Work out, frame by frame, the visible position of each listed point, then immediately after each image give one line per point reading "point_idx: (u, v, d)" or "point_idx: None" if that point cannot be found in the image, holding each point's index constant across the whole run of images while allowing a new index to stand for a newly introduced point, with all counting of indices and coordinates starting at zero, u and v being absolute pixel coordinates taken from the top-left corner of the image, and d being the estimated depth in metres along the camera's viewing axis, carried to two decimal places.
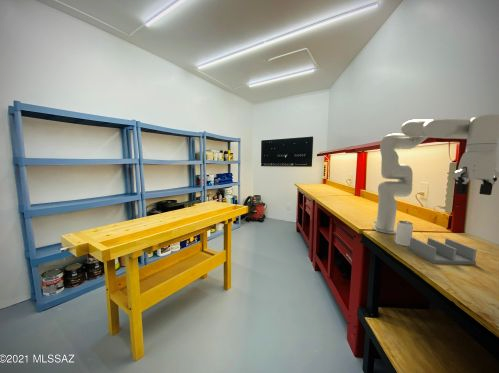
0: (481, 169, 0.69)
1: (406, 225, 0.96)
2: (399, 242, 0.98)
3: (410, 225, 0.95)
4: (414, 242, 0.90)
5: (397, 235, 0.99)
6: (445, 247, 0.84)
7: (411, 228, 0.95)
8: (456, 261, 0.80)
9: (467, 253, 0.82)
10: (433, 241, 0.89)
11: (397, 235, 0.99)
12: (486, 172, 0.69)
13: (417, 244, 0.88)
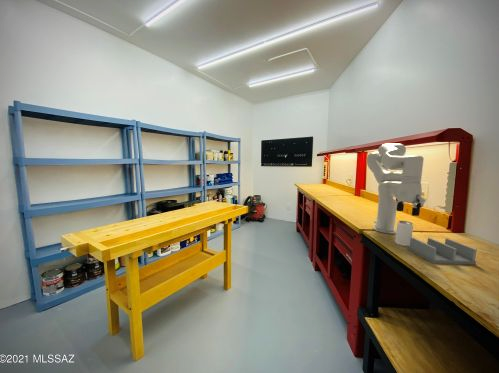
0: None
1: (406, 225, 0.96)
2: (399, 242, 0.98)
3: (410, 225, 0.95)
4: (414, 242, 0.90)
5: (397, 235, 0.99)
6: (445, 247, 0.84)
7: (411, 228, 0.95)
8: (456, 261, 0.80)
9: (467, 253, 0.82)
10: (433, 241, 0.89)
11: (397, 235, 0.99)
12: None
13: (417, 244, 0.88)
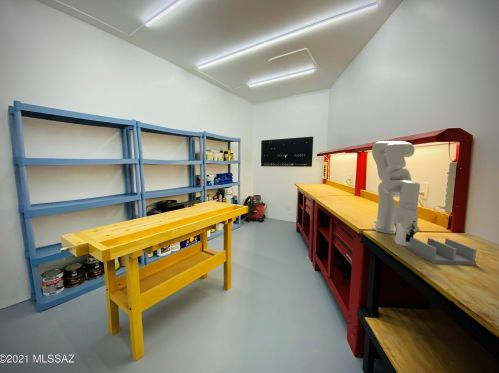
0: None
1: None
2: (399, 242, 0.98)
3: None
4: (414, 242, 0.90)
5: (397, 235, 0.99)
6: (445, 247, 0.84)
7: None
8: (456, 261, 0.80)
9: (467, 253, 0.82)
10: (433, 241, 0.89)
11: (397, 235, 0.99)
12: None
13: (417, 244, 0.88)
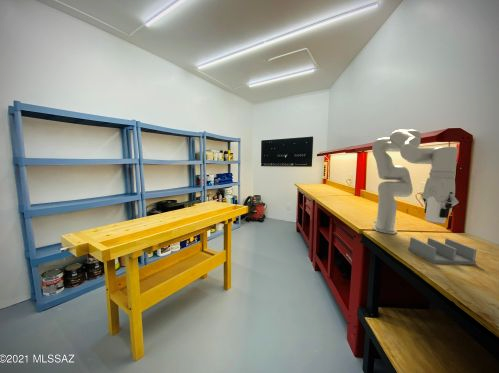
0: None
1: None
2: (432, 218, 0.83)
3: None
4: (414, 242, 0.90)
5: (428, 211, 0.85)
6: (445, 247, 0.84)
7: None
8: (456, 261, 0.80)
9: (467, 253, 0.82)
10: (433, 241, 0.89)
11: (428, 211, 0.85)
12: None
13: (417, 244, 0.88)
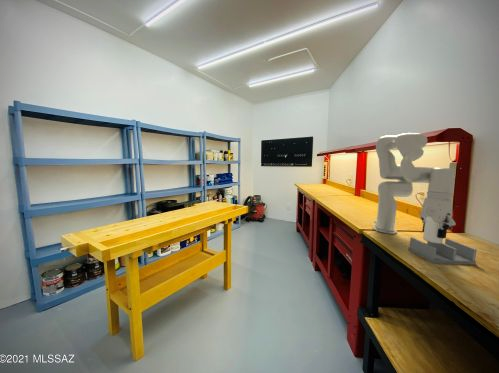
0: None
1: None
2: (429, 238, 0.84)
3: None
4: (414, 242, 0.90)
5: (426, 230, 0.85)
6: (445, 247, 0.84)
7: None
8: (456, 261, 0.80)
9: (467, 253, 0.82)
10: None
11: (426, 230, 0.85)
12: None
13: (417, 244, 0.88)
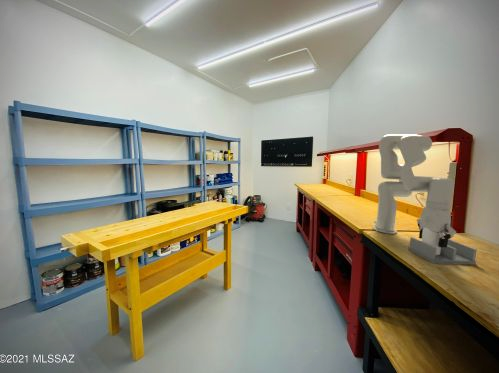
0: None
1: None
2: None
3: None
4: (414, 242, 0.90)
5: None
6: (445, 247, 0.84)
7: None
8: (456, 261, 0.80)
9: (467, 253, 0.82)
10: None
11: None
12: None
13: (417, 244, 0.88)
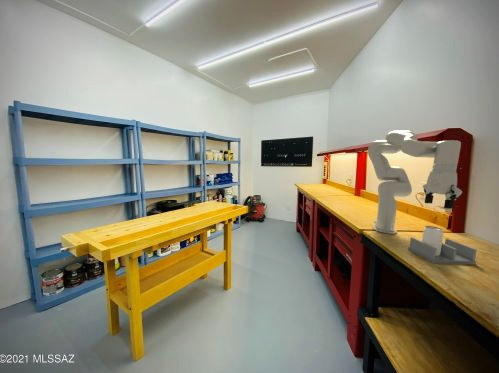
0: None
1: (435, 231, 0.83)
2: None
3: (440, 231, 0.83)
4: (414, 242, 0.90)
5: None
6: (445, 247, 0.84)
7: (441, 235, 0.83)
8: (456, 261, 0.80)
9: (467, 253, 0.82)
10: None
11: (424, 242, 0.86)
12: None
13: (417, 244, 0.88)
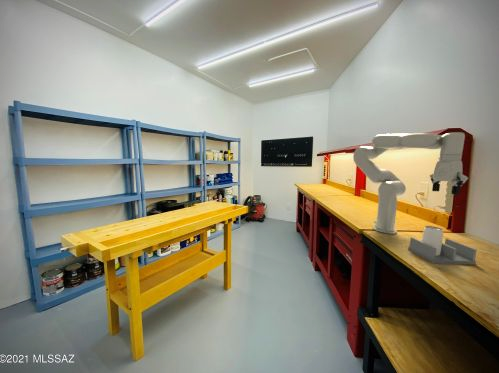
0: None
1: (435, 231, 0.83)
2: None
3: (440, 231, 0.83)
4: (414, 242, 0.90)
5: None
6: (445, 247, 0.84)
7: (441, 235, 0.83)
8: (456, 261, 0.80)
9: (467, 253, 0.82)
10: None
11: (424, 242, 0.86)
12: None
13: (417, 244, 0.88)
